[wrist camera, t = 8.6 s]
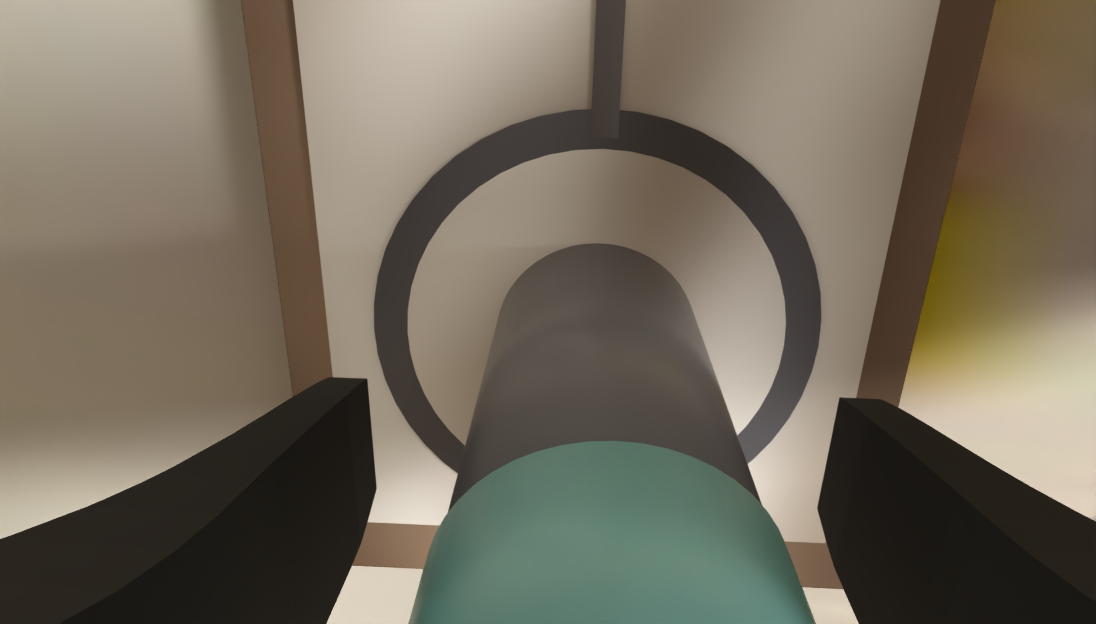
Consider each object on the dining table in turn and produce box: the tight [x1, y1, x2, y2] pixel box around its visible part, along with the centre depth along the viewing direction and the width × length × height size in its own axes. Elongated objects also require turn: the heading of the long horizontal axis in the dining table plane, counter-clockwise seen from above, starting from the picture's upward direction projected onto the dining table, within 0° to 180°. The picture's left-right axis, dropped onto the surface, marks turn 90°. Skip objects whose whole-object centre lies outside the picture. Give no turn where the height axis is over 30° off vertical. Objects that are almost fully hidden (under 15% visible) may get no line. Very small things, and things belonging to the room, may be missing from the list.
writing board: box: [241, 0, 995, 589], centre depth 14 cm, size 13×20×2 cm, turn 179°
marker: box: [409, 243, 816, 624], centre depth 10 cm, size 4×4×10 cm
